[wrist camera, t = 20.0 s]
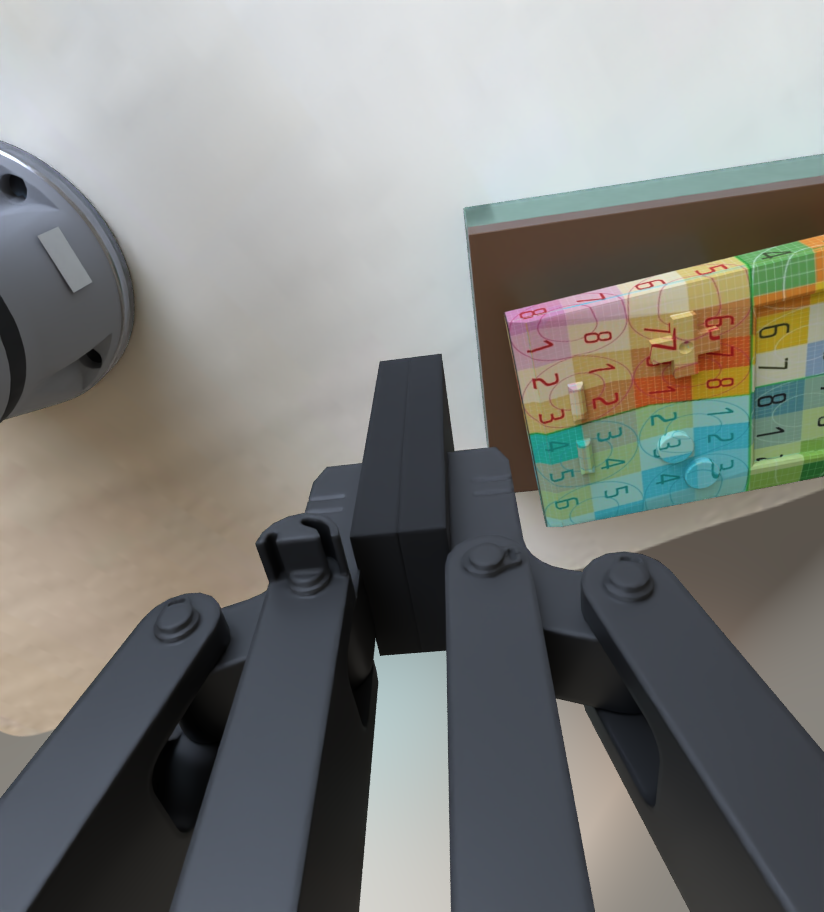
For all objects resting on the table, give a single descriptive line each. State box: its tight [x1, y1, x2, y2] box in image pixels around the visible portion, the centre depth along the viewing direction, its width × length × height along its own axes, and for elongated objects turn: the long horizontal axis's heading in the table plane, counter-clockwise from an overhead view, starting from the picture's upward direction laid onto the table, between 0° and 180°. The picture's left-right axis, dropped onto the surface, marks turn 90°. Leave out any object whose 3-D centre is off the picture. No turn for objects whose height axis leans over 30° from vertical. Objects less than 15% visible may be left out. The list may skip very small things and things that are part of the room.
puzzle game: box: [504, 235, 824, 527], centre depth 30 cm, size 12×5×20 cm
